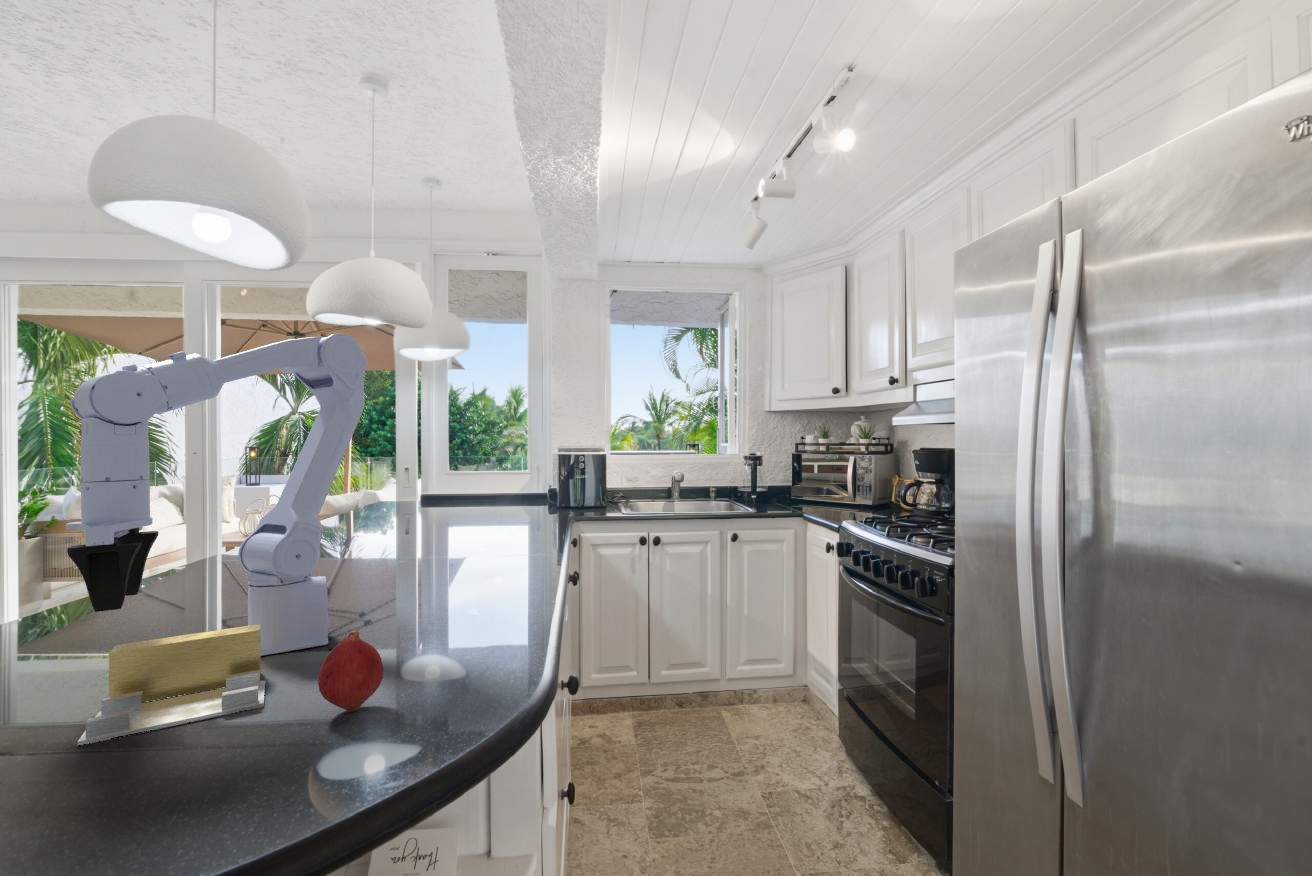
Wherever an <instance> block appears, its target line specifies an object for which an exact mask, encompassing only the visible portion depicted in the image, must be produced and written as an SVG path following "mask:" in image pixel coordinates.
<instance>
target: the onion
mask: <svg viewBox="0 0 1312 876" xmlns="http://www.w3.org/2000/svg"><path fill="white" fill-rule="evenodd" d="M359 635H360V633H359V631H358V630H352V631H350V632H349V633H348V634H347V636H346V637H344V638H343V639H342V640H341V641H340V642H339V643H338V644H337V645H335V646H334V647H332V649H331V650H330V651H329V652H328V654H327V655H326V656H325V658H324V659H323V662H322V664H321V666H320V669H319V674H318V682H317V684H318V691H319V693H320V694H321V696H322V697H323V699H324V700H326V701H327V702H328V703H330V704H332V705H333V706H335V707H338V708H340V709H342V710H345V711H346V712H356V711H358V710H359V709H360V708H361V707H362V705H363V704H364V703H365V702H366V701H367V700H369V699H370V697H372V696H373V695H374V694H375V693H376V691H377V690H378V689H379V688H380V685H381V684H382V681H383V678H384V665H383V660H382V657H381V655H380V653H379V651H378V650H377V649H376V648H375V647H374V646H373V645H372V644H370V643H368V642H367V641H364V640H362V639H360V636H359Z"/></svg>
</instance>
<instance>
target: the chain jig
mask: <svg viewBox="0 0 1312 876" xmlns="http://www.w3.org/2000/svg"><path fill="white" fill-rule="evenodd" d="M265 689H266V680H261V678H260V670H255V671H249V672H244V673H238V674H233V675H227V676H226V688H221V689H215V690H210V691H205V692H200V693H194V694H189V695H184V696H179V697H173V698H168V699H163V700H158V701H152V702H147V703H143V691H139V692H134V693H128V694H123V695H117V696H112V697H109V696H107V697H103V698H102V700H101V701H100V711H99V712H97V714H96V715H95V716H94V717H91V718H88V719H87V720H86V722H85V730H84V732H83V733H82V735H80V737H79V739H78V740H77V746H78V745H81V746H85V745H84V744H86V745H89V743H90V744H95V743H100V742H104V741H109V740H112V739H111V738H113V737H116V736H121V735H126V734H130V733H137V732H142V733H147V732H151V731H150V730H152V731H156V730H161V729H165V728H170V727H174V726H180V725H184V724H189V722H190V723H193V722H194V723H195V722H199V721H203V720H208V719H213V718H218V717H222V715H223V716H227V715H232V714H231V713H233V714H236V713H235V712H237V713H240V712H239V711H242V712H245V711H244V710H247V711H251V709H252V710H256V709H260V708H261V709H262V708H264V707H265V696H266V695H265V691H266V690H265ZM264 695H265V696H264ZM144 731H145V732H144ZM146 731H147V732H146ZM99 741H100V742H99Z"/></svg>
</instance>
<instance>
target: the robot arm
mask: <svg viewBox="0 0 1312 876" xmlns="http://www.w3.org/2000/svg"><path fill="white" fill-rule="evenodd" d="M167 356H168V359H166V360H162V361H158V362H154V363H149V364H147V365H146V364H145V365H142V366H141V365H140V366H137V364H134V363H131V364H129V365H125V366H124V365H123V366H122V367H121V370H117V371H115V372H114V373H109V374H105V375H100V376H96V377H93V378H89V379H86V380H85V381H84V382H82V383H81V384H80V385H79V386H78V387H77V389H76V390H75V393H74V395H73V398H71V399H70V400H69V404H70V407H71V409H72V412H73V413H74V414H75V416H77V418H78V419H79V420H80V421H81V422H80V423H81V424H80V425H81V428H80V429H81V434H80V435H81V439H80V440H79V441H80V443H79V445H80V447H79V448H80V449H79V450H80V505H81V506H80V510H81V511H80V512H81V513H80V514H81V515H80V518H81V519H80V520H81V521H75V522H74V521H73V522H68V523H66V524H65V530H66V531H72V530H74V531H75V530H77V531H80V532H84V533H85V544H77V545H71V546H68V547H67V549H66V550H67V556H68V557H69V558H70V560H71V561H72V562H73V563H74V564H75V565H76V567H77V570H79V573H80V574H81V577H82V578H83V581H84V583H85V587H86V590H87V593H88V596H89V600H90V603H91V606H92V608H93V610H94V612H95V613H98V612H106V611H107V612H108V611H113V610H120V609H122V608H123V605H124V602H125V599H126V597H128V596H136V595H138V594H139V592H140V589H141V585H142V581H143V575H144V572H145V567H146V563H147V560H148V556H149V553H150V551H151V549H152V547H153V546H154V543H155V541H156V540H157V539H158V536H159V531H158V530H150V531H149V530H147V531H142V530H143V528H144V527H148V526H152V525H153V517H151V494H150V493H151V492H150V491H151V485H150V484H151V480H150V472H151V471H150V440H149V420H150V419H152V417H154V415H161V414H164V413H168V412H170V411H174V410H177V409H180V408H183V407H188V406H191V405H194V404H197V403H200V402H204V401H206V400H211V399H213V398H216V397H217V396H218V395H219V393H220V392H221V390H222V388H223V386H224V385H225V384H226V383H230V382H233V381H237V380H241V379H245V378H249V377H253V376H258V375H260V374H261V375H262V374H265V373H269V372H272V371H276V370H278V371H279V372H282V373H284V374H287V375H288V374H293V375H294V376H295V377H296V378H297V379H298V380H299V381H300V382H301V383H302V384H303V385H304V386H305V388H306V389H307V390H309V391H310V392H311V394H312V395H313V396H315V398H316V401H317V402H318V404H319V406H320V408H319V411H318V413H317V415H316V417H315V419H314V422H313V424H312V426H311V428H310V430H309V433H308V434H307V437H306V439H305V441H304V443H303V446H302V448H301V450H300V452H299V455H298V457H297V459H296V461H295V464H294V465H293V468H292V470H291V473H290V475H289V476H288V479H287V481H286V483H285V486H284V487H283V490H282V492H281V494H280V496H279V498H278V500H277V503H276V505H275V506H274V507H273V508H272V509H271V510H269V511H268V512H267V513H266V514H265V515H264V516H263V517H262V518H261V519H260V520H259V522H258V523H257V524H258V525H257V526H256V527H255V529H254V530H253V532H252V533H250V534H249V535H248V536H246V537H245V539H244V540H243V541H242V542H241V544H240V546H239V549H238V554H237V555H238V558H237V559H238V561H239V564H240V566H241V568H242V569H243V570H244V571H245V572H247V573H248V579H247V626H250V625H257V624H261V657H262V656H269V655H273V654H279V653H285V652H292V651H296V650H302V649H308V648H309V649H310V648H315V647H321V646H327V645H328V644H329V636H328V635H329V632H328V631H329V629H330V626H331V624H330V623H331V622H330V621H331V620H330V615H328V613H329V612H328V611H329V610H328V607H329V606H328V583H327V581H328V580H327V577H326V576H325V575H318V576H312V572H313V571H314V570H315V569H316V567H317V566H318V564H319V562H320V559H321V540H322V538H323V535H324V532H325V530H324V527H323V525H322V523H321V521H320V519H319V515H320V513H321V510H322V509H323V506H324V504H325V501H326V498H327V496H328V494H329V492H330V489H331V487H332V484H333V482H334V480H335V477H336V475H337V473H338V470H339V469H340V465H341V463H342V461H343V459H344V456H345V453H346V451H347V450H348V449H347V448H348V447H349V445H350V442H351V439H352V437H353V435H354V433H355V431H356V428H357V426H358V423H359V421H360V418H361V416H362V413H363V411H364V407H365V379H364V375H365V373H366V370H367V368H368V366H369V361H368V360H367V357H366V355H365V353H364V350H363V349H362V347H361V346H360V344H359V343H358V341H357V340H356V339H354V338H353V337H352V336H350V335H348V334H345V333H334V334H330V335H328V336H325V337H324V336H323V335H321V336H318V335H317V336H309V337H302V338H294V339H293V338H292V339H287V340H282V341H278V342H273V343H269V344H265V345H262V346H258V347H255V348H252V349H249V350H246V351H245V350H244V351H242V352H238V353H235V354H232V355H226V356H224V357H221V358H217V359H210V358H207V357H205V356H203V355H201V354H198V353H192V354H186V352H185V351H182V350H181V351H178V352H175V353H169V354H168V355H167Z"/></svg>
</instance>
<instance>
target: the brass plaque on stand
mask: <svg viewBox="0 0 1312 876" xmlns="http://www.w3.org/2000/svg"><path fill="white" fill-rule="evenodd" d="M255 670H260V677H261V675H262V656H261V624H257V625H250V626H248V625H244V626H239V627H231V628H230V627H229V628H224V629H217V630H210V631H204V632H196V633H188V634H182V635H181V634H180V635H175V636H169V637H163V638H155V639H149V640H142V641H135V642H127V643H122V644H115V645H114V646H113V647H112V649H110V651H109V652H108V697H112V696H117V695H123V694H128V693H134V692H139V691H143V702H146V701H152V702H153V700H158V699H164V698H167V697H173V696H178V695H184V694H189V693H194V694H195V692H199V691H206V690H210V691H211V690H213V689H215V690H216V689H217V688H222V687H226V676H227V675H233V674H238V673H244V672H249V671H255ZM261 678H262V677H261ZM189 695H190V694H189ZM173 698H174V697H173Z"/></svg>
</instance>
